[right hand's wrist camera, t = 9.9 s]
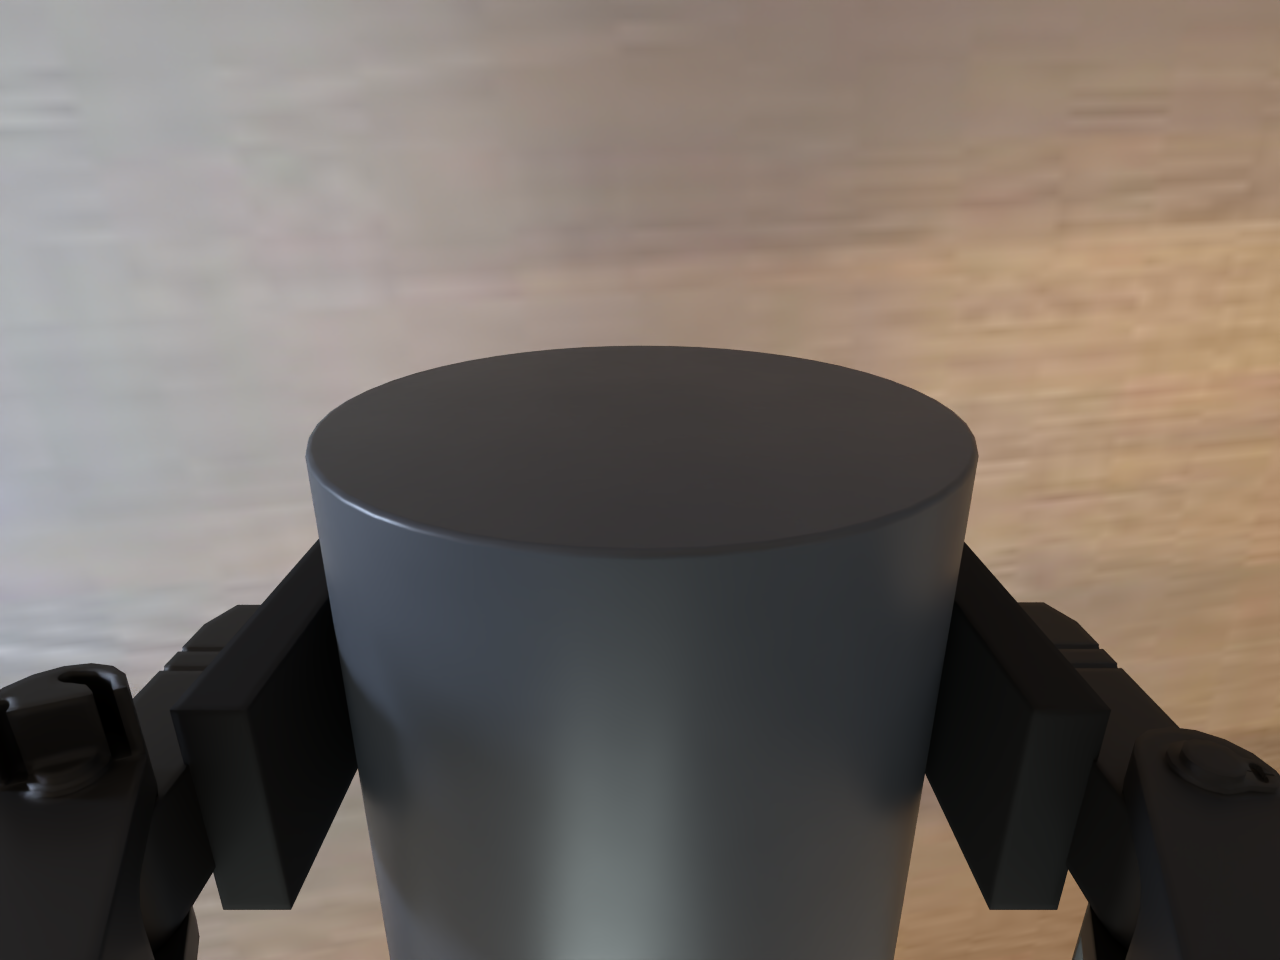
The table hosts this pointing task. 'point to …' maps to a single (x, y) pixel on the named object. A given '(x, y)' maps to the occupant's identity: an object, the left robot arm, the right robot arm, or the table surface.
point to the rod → (641, 648)
